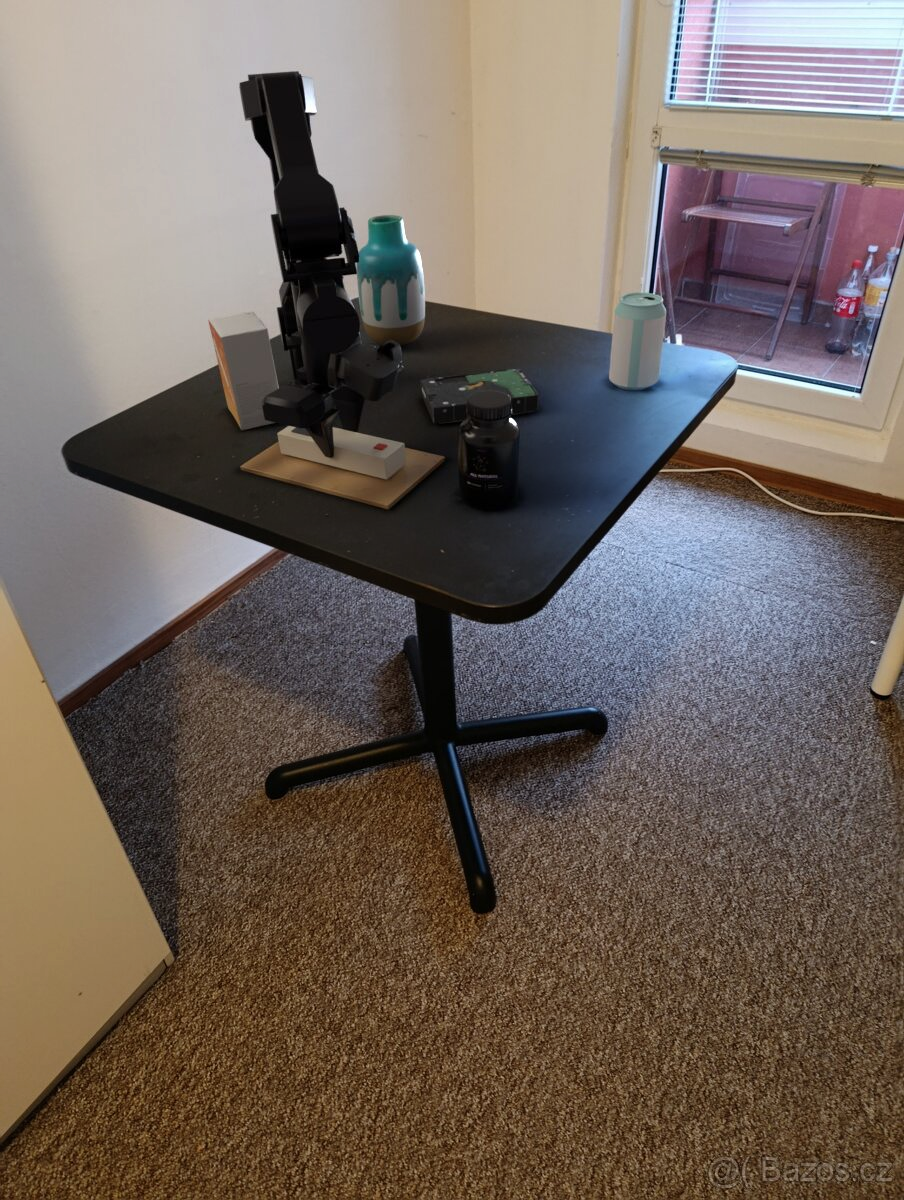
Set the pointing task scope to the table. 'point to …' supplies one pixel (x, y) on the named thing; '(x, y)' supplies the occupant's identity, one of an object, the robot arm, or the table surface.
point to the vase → (390, 283)
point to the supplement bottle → (488, 452)
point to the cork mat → (345, 476)
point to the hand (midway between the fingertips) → (340, 449)
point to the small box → (244, 365)
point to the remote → (347, 451)
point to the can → (637, 341)
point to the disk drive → (452, 392)
